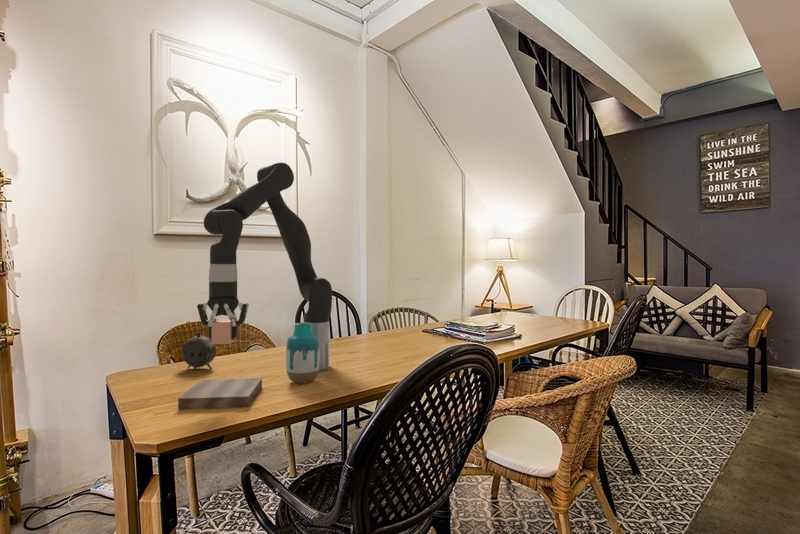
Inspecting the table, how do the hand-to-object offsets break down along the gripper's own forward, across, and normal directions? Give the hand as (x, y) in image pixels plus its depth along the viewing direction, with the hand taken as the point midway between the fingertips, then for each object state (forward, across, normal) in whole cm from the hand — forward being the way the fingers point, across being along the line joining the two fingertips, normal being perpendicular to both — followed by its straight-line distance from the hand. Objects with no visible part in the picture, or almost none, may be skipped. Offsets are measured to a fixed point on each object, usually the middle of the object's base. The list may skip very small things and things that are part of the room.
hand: (223, 338), depth 124 cm
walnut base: (+17, 0, 0) cm, 17 cm away
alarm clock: (+17, +18, -34) cm, 42 cm away
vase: (+17, -21, -14) cm, 31 cm away
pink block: (+1, 0, 0) cm, 1 cm away
